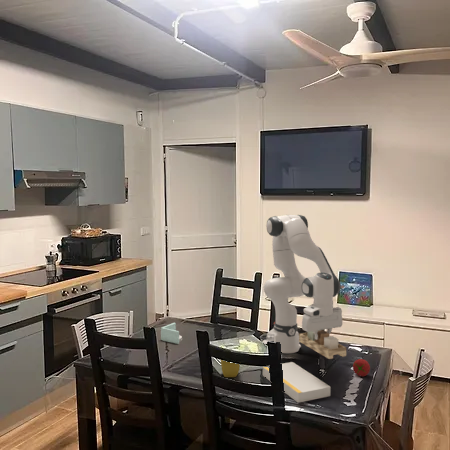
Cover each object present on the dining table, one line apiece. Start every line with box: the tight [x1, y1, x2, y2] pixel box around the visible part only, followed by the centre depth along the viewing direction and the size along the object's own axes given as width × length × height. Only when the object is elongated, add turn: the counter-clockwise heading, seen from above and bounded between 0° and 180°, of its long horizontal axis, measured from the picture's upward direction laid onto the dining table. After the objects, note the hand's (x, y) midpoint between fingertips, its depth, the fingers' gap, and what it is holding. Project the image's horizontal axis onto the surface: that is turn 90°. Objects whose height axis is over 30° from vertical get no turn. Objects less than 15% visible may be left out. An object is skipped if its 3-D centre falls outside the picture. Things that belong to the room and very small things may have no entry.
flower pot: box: [220, 359, 241, 378], centre depth 228 cm, size 9×9×9 cm
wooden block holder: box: [299, 330, 347, 360], centre depth 226 cm, size 24×9×8 cm, turn 24°
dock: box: [262, 361, 332, 404], centre depth 218 cm, size 30×16×4 cm, turn 24°
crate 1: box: [308, 330, 320, 341], centre depth 232 cm, size 4×4×4 cm
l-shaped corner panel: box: [160, 322, 183, 345], centre depth 278 cm, size 12×12×8 cm
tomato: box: [352, 358, 371, 378], centre depth 229 cm, size 8×8×8 cm
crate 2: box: [324, 335, 339, 349], centre depth 220 cm, size 4×4×4 cm
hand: (322, 338), depth 226 cm, fingers closed on wooden block holder, 4 cm apart
